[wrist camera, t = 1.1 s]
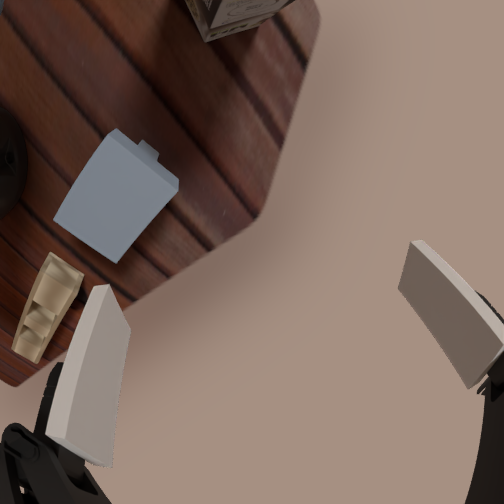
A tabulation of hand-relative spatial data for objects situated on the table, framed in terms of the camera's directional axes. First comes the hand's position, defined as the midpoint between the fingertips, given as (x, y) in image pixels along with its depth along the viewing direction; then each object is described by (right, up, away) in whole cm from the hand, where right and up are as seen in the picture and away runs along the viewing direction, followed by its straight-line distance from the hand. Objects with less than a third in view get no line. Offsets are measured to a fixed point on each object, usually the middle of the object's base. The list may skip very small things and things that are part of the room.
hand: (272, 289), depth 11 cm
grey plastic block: (-15, +10, +16) cm, 24 cm away
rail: (-35, -8, +23) cm, 42 cm away
